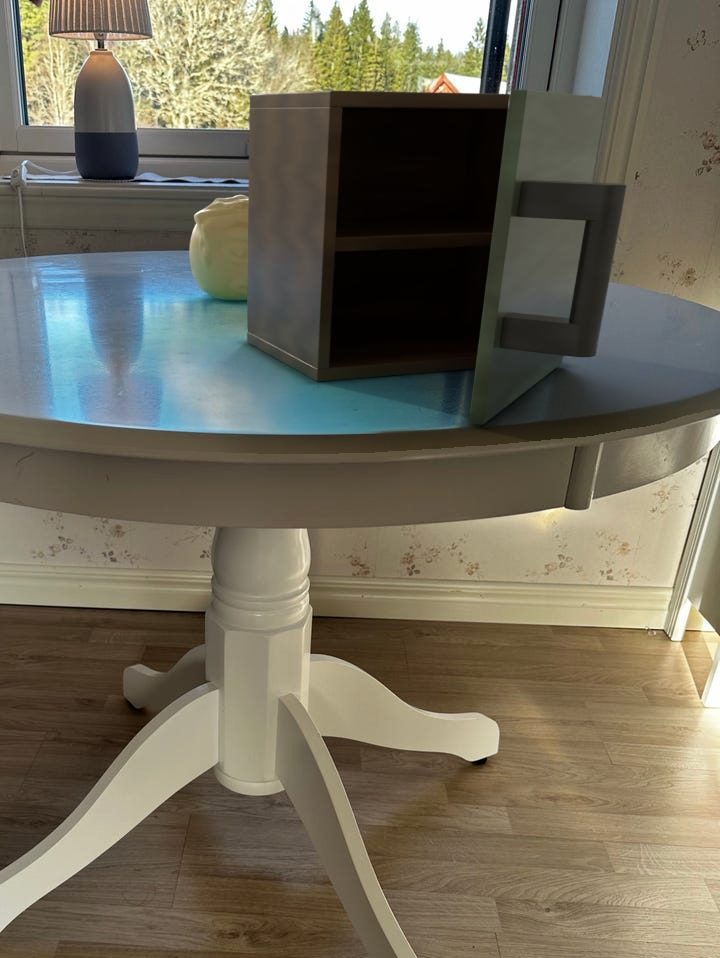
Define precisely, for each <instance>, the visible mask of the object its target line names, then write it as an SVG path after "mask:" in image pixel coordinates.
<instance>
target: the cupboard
mask: <svg viewBox="0 0 720 958" xmlns="http://www.w3.org/2000/svg"><path fill="white" fill-rule="evenodd" d="M583 95H584V94H583ZM584 96H589V95H587V94H586V95H584ZM509 98H510V93H484V92H483V93H481V92H480V93H479V92H478V93H477V92H433V91H431V92H430V91H429V92H427V91H382V90H381V91H379V90H378V91H376V90H333V89H332V90H314V91H313V90H312V91H295V92H293V91H291V92H272V93H253V94H249V115H248V116H249V121H248V126H249V128H248V197H249V201H248V289H247V300H246V301H247V303H246V305H247V306H246V307H247V308H246V331H247V332H246V343H248V344H250V345H252V346H253V347H255V348H256V349H259V350H260V351H262V352H263V353H266V354H267V355H269V356H271V357H273V358H274V359H276V360H279V361H280V362H281V363H283V364H285V365H287V366H289V367H290V368H292V369H294V370H295V371H297V372H298V373H301V374H303V375H304V376H307V377H308V378H310V379H312V380H314V381H315V382H318V383H319V382H329V381H340V380H341V381H342V380H353V379H354V380H355V379H356V380H357V379H367V378H378V377H380V378H381V377H392V376H403V375H404V376H405V375H414V374H415V375H416V374H428V373H440V372H451V371H452V372H453V371H464V370H475V369H476V361H477V353H478V345H479V337H480V329H481V321H482V313H483V305H484V297H485V289H486V281H487V273H488V265H489V257H490V249H491V241H492V233H493V225H494V217H495V209H496V202H497V194H498V186H499V178H500V170H501V162H502V154H503V146H504V138H505V130H506V122H507V114H508V106H509Z"/></svg>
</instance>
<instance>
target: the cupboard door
mask: <svg viewBox="0 0 720 958" xmlns="http://www.w3.org/2000/svg"><path fill="white" fill-rule="evenodd" d="M509 94H510V98H509V106H508V114H507V122H506V130H505V138H504V146H503V154H502V162H501V170H500V178H499V186H498V194H497V202H496V209H495V217H494V225H493V233H492V241H491V249H490V257H489V265H488V273H487V281H486V289H485V297H484V305H483V313H482V321H481V329H480V337H479V345H478V353H477V361H476V369H474V370H475V371H474V377H473V378H474V379H473V385H472V386H473V387H472V394H471V402H470V410H469V419H468V423H469V424H471V425H478V426H483V425H485V424H486V423H488V422H489V421H490V420H491V419H492V418H494V417H495V416H497V414H499V413H500V412H501V411H503V410H504V409H505V408H507V407H508V406H509V405H510V404H512V403H513V402H514V401H516V400H517V399H518V398H519V397H521V396H522V395H523V394H524V393H526V392H527V391H528V390H530V389H531V388H532V387H533V386H535V385H536V384H537V383H538V382H540V381H541V380H542V379H544V378H545V377H546V376H548V375H549V374H550V373H551V372H553V371H554V370H555V369H556V368H558V367H559V366H560V365H562V364H563V360H564V356H565V357H573V358H592V357H595V356H596V355H597V350H598V344H599V339H600V334H601V328H602V324H603V323H602V322H603V317H604V313H605V307H606V301H607V296H608V290H609V285H610V279H611V274H612V268H613V263H614V258H615V251H616V246H617V241H618V237H619V230H620V225H621V220H622V219H621V218H622V214H623V208H624V203H625V197H626V193H627V188H628V186H627V184H626V183H619V182H618V183H617V182H598V181H597V182H596V181H595V182H594V175H595V169H596V162H597V156H598V151H599V146H600V145H599V144H600V138H601V133H602V127H603V121H604V115H605V109H606V103H607V98H606V97H603V96H595V95H594V96H593V95H588V96H584V94H573V93H563V92H553V91H544V90H534V89H510V91H509Z"/></svg>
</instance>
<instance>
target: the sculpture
mask: <svg viewBox="0 0 720 958" xmlns="http://www.w3.org/2000/svg"><path fill="white" fill-rule="evenodd" d="M248 201H249V196H246V195H243V194H238V195H235V196H233V197H226V198H224V197H217V198H215V199H214V201H213V202H211V204H210V205H208V206H206V207H205V208H203V209H201V210H199V211H197V212H196V213H195V214H194V215H193V219H194V222H195V225H194V228H193V230H192V233H191V236H190V240H189V253H188V254H189V255H188V256H189V263H190V269H191V273H192V275H193V279H194V280H195V283H196V284H197V286H198V287H199V289H200V290H201V291H203V292H204V293H206V294H207V295H209V296H211V297H213V298H216V299H219V300H225V301H247V289H248Z"/></svg>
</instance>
